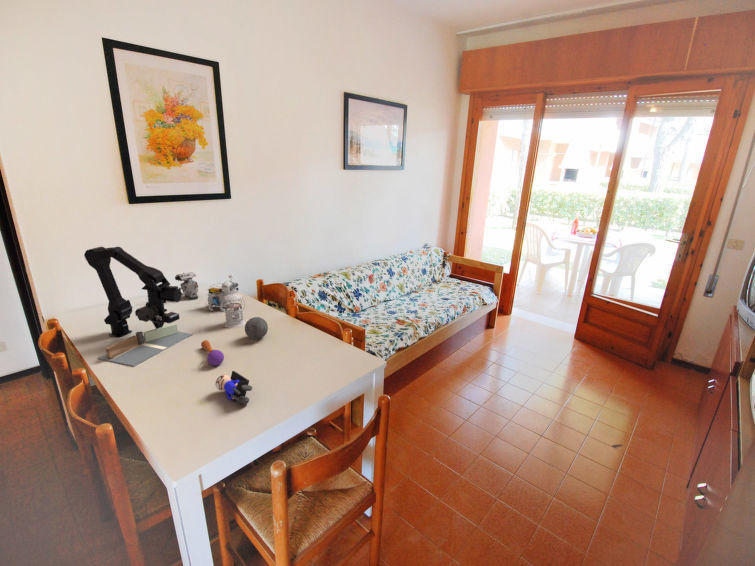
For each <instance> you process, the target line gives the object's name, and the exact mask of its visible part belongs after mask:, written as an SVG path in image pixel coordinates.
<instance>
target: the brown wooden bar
mask: <svg viewBox="0 0 755 566" xmlns="http://www.w3.org/2000/svg"><path fill="white" fill-rule="evenodd" d="M143 332H144V331H136V332H135V335H132V336H129V337H127V338H126V339H123V340H121V341H118V342H117V343H114V344H113V345H110V346H107V347H105V351H106V354H107V357H108V359H113V358H114V357H116V356H119V355H121V354H123V353H125V352H127V351H129V350H131V349H133V348H135V347H137V346H139V345H142V344H144V337H143V336H144V333H143Z"/></svg>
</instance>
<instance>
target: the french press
mask: <svg viewBox="0 0 755 566" xmlns="http://www.w3.org/2000/svg"><path fill="white" fill-rule="evenodd" d="M228 278H230V281H231V285H232V282H233V280H232V279H233V278H234V275H233V274H229V276H228ZM224 300H226V301H232V303H230V304H227V305H226V306H225V308H224V309H225V311H224V313H225V323H224V327H225V328H229V329H235V328H236V329H237V328H240V327H243V326H245V324H246V323H247V321H245V320H244V315H243V311H244V309H245V305H246V304H245V300H244V298H242V295H241V294H237V293H234V294H233V291H232V294H229V295H227V296H225V297H224ZM235 301H238V302H235ZM240 302H241V303H240Z"/></svg>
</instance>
